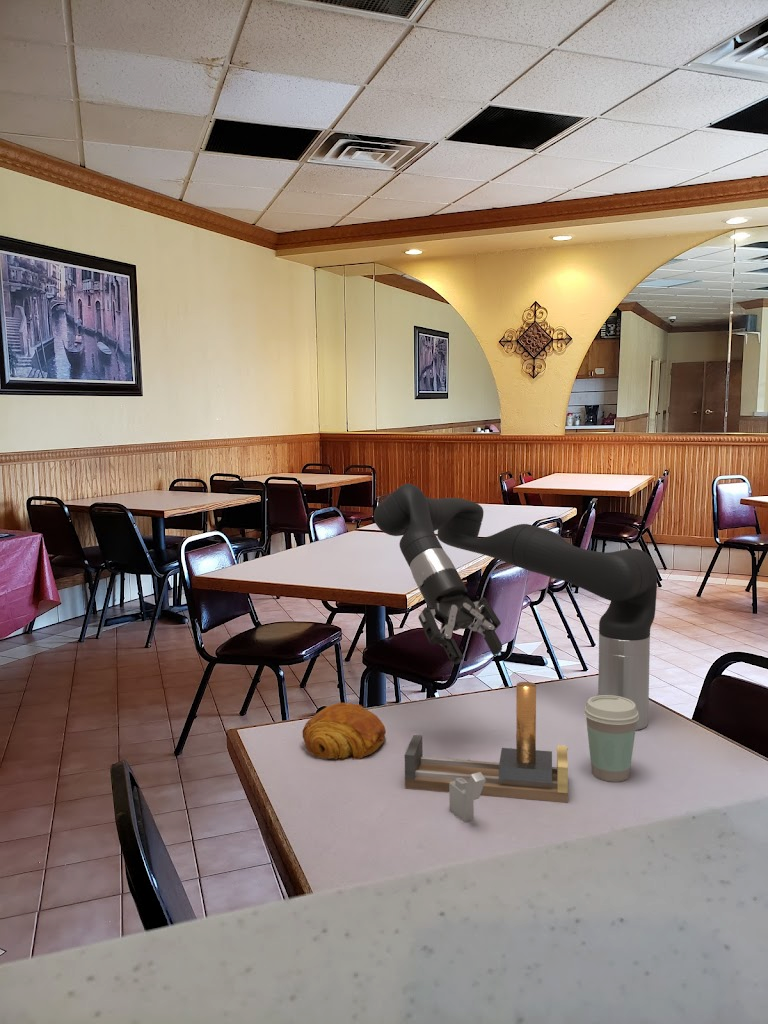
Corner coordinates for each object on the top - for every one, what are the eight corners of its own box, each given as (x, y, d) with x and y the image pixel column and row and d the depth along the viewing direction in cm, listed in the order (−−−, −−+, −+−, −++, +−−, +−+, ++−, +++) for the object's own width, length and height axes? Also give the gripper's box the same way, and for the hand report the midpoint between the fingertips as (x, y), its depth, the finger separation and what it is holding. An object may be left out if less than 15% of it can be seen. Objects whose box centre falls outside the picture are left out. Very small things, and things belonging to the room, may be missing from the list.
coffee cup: (638, 766, 125) (639, 696, 124) (637, 789, 117) (639, 715, 116) (585, 759, 128) (585, 691, 126) (581, 782, 120) (582, 709, 118)
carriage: (501, 759, 122) (501, 676, 121) (551, 763, 121) (552, 679, 119) (498, 778, 116) (498, 691, 114) (551, 783, 114) (552, 694, 112)
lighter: (448, 809, 112) (448, 758, 111) (458, 807, 112) (458, 755, 112) (476, 832, 105) (475, 777, 104) (486, 828, 106) (486, 774, 105)
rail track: (413, 766, 126) (413, 734, 126) (566, 778, 121) (566, 745, 120) (405, 788, 118) (404, 754, 118) (567, 802, 113) (567, 767, 112)
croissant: (290, 764, 133) (284, 723, 131) (336, 722, 146) (331, 684, 144) (360, 779, 126) (355, 736, 124) (402, 734, 139) (398, 694, 137)
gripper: (459, 586, 141) (500, 661, 132) (396, 596, 133) (435, 676, 125) (477, 562, 136) (521, 638, 127) (413, 571, 128) (455, 652, 120)
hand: (478, 657), depth 126 cm, fingers open, 8 cm apart
